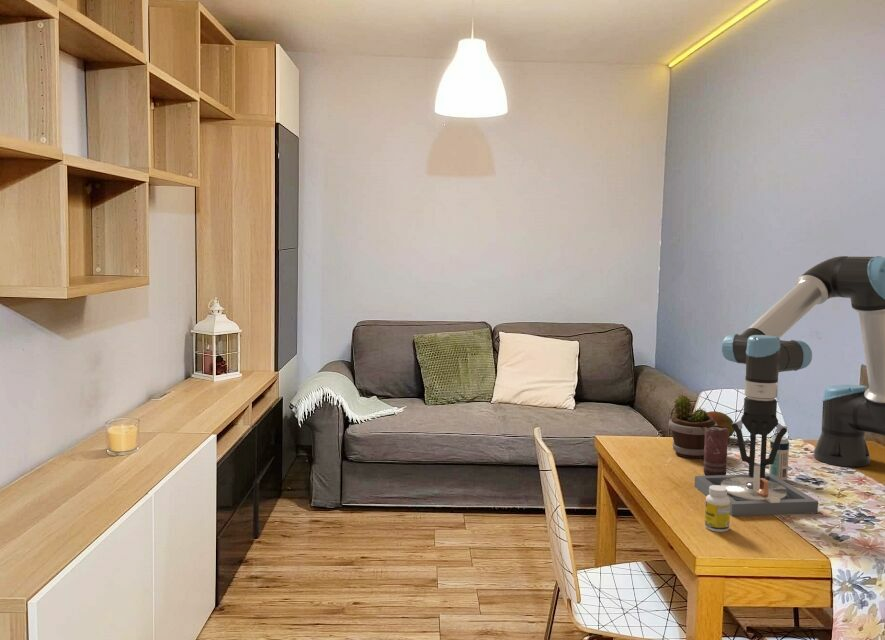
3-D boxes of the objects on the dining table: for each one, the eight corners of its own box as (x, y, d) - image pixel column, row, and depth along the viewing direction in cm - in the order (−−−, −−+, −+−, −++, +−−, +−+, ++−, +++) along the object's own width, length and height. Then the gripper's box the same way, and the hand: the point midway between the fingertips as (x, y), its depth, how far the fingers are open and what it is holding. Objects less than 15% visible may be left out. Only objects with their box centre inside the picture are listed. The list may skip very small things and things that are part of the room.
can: (728, 479, 211) (730, 430, 209) (705, 477, 212) (706, 429, 210) (725, 472, 217) (726, 425, 215) (702, 471, 218) (703, 424, 216)
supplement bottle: (700, 524, 178) (702, 484, 177) (722, 523, 178) (724, 483, 177) (710, 533, 172) (712, 491, 171) (733, 532, 173) (735, 491, 172)
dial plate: (771, 484, 206) (772, 470, 206) (817, 513, 184) (818, 498, 184) (694, 486, 205) (694, 473, 204) (731, 516, 183) (732, 501, 182)
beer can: (787, 477, 212) (789, 436, 210) (787, 482, 207) (789, 440, 206) (768, 475, 214) (770, 434, 212) (768, 480, 209) (770, 438, 208)
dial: (711, 484, 203) (712, 462, 202) (771, 484, 202) (772, 462, 201) (733, 505, 187) (734, 481, 186) (797, 505, 186) (799, 482, 186)
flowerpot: (721, 451, 238) (723, 390, 236) (710, 464, 225) (712, 399, 223) (675, 445, 246) (677, 385, 243) (661, 456, 233) (663, 393, 231)
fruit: (691, 440, 251) (692, 411, 250) (705, 433, 261) (706, 405, 260) (726, 446, 244) (727, 416, 243) (739, 438, 253) (740, 410, 252)
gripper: (731, 398, 185) (727, 490, 187) (789, 402, 179) (784, 498, 182) (733, 392, 191) (729, 481, 194) (789, 397, 186) (784, 488, 189)
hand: (756, 489), depth 188 cm, fingers closed
